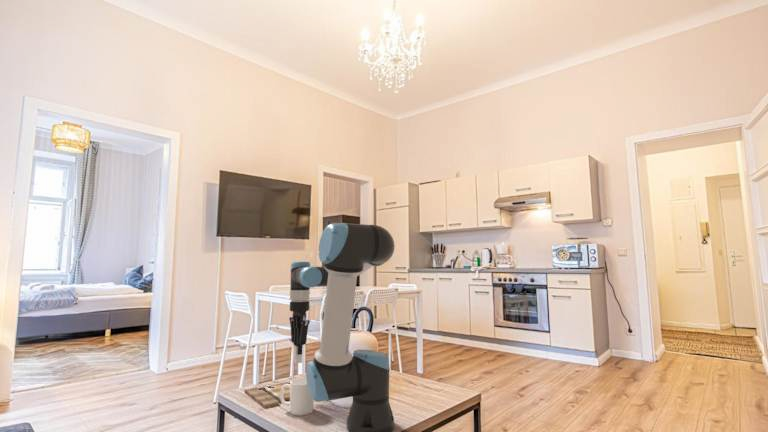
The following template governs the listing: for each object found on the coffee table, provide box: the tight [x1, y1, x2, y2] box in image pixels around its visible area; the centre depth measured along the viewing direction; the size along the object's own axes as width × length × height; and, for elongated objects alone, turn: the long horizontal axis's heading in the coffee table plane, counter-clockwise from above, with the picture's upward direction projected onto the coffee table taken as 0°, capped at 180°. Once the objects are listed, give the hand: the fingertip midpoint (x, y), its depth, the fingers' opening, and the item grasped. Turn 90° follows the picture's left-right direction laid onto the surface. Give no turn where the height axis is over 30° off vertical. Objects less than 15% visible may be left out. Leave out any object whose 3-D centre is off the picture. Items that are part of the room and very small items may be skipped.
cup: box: [280, 377, 315, 417], centre depth 138 cm, size 8×12×10 cm
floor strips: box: [244, 386, 280, 409], centre depth 149 cm, size 20×6×1 cm, turn 39°
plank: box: [262, 381, 290, 403], centre depth 155 cm, size 16×10×2 cm, turn 38°
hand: (298, 362), depth 153 cm, fingers closed
